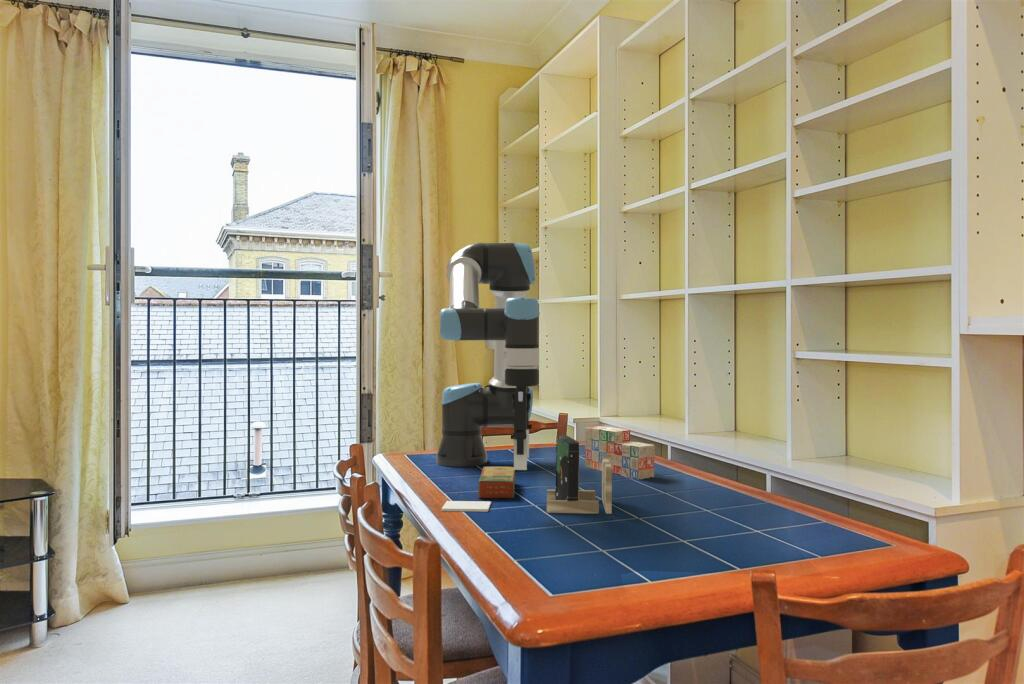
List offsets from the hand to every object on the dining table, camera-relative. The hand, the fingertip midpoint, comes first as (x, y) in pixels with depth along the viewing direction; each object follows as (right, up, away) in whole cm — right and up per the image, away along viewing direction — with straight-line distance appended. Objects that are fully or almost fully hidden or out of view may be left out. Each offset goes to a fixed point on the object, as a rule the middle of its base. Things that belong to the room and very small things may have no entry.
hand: (521, 463), depth 150 cm
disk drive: (+10, -9, -1) cm, 14 cm away
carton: (-6, -11, +20) cm, 24 cm away
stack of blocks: (+27, -10, +36) cm, 46 cm away
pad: (-12, -9, -2) cm, 15 cm away
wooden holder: (+12, -9, -1) cm, 15 cm away
